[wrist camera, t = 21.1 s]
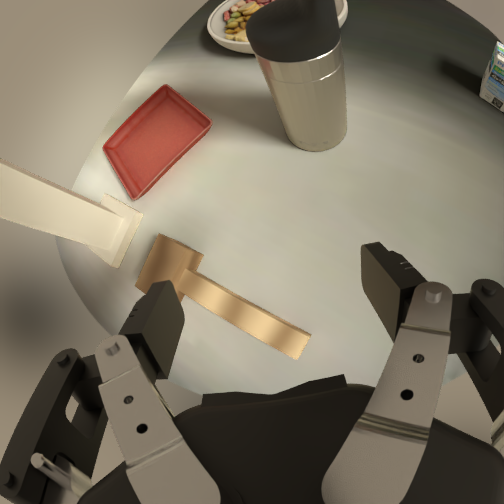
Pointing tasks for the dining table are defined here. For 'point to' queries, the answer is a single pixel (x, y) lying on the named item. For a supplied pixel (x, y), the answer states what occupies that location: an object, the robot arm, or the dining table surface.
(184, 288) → the beech mallet
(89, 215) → the tall stand
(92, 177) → the dining table surface
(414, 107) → the dining table surface
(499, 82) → the light bulb box
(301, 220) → the dining table surface
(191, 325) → the dining table surface
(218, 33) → the bowl
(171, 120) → the plant saucer
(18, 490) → the robot arm
